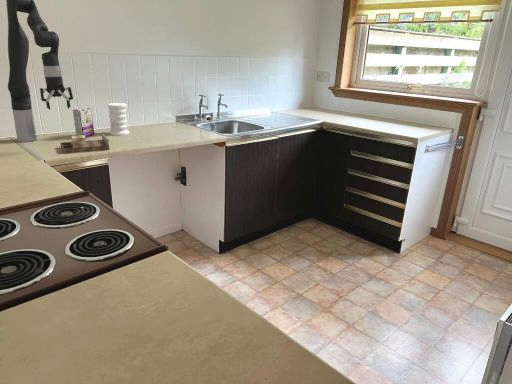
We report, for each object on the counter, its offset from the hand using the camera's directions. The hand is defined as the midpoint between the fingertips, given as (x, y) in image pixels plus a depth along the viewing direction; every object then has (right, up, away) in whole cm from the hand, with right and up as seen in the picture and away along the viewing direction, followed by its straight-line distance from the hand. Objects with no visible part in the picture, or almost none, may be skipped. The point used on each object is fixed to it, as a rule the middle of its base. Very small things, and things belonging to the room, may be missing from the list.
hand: (59, 108), depth 196 cm
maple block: (+7, -17, +7) cm, 20 cm away
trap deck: (+9, -19, +9) cm, 23 cm away
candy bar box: (-2, -9, +35) cm, 36 cm away
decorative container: (+14, -6, +46) cm, 49 cm away
